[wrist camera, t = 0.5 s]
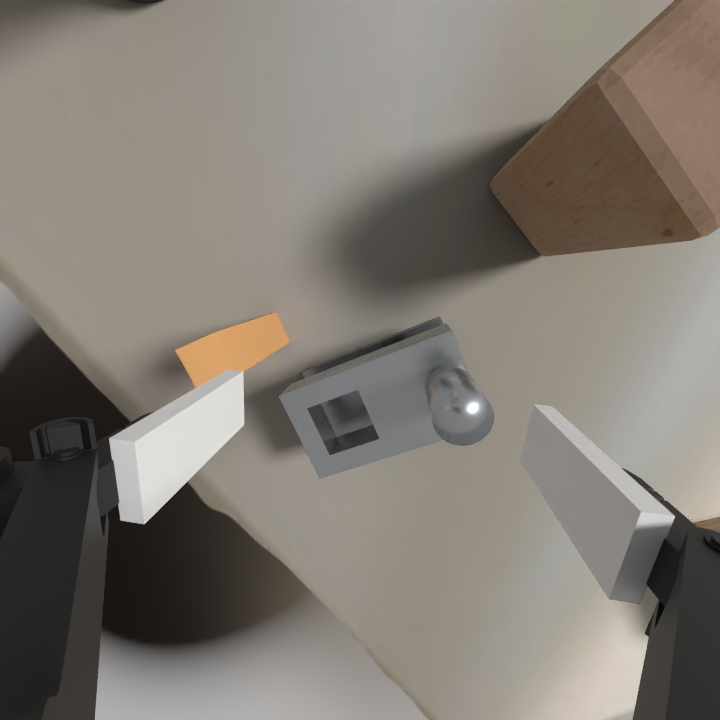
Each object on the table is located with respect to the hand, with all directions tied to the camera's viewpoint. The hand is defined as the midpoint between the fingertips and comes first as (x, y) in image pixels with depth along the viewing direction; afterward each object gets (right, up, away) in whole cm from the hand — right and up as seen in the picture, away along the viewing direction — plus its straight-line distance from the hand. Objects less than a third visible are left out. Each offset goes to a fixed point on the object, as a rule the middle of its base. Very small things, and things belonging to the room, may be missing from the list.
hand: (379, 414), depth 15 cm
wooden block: (+19, +20, +19) cm, 33 cm away
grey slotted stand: (+2, 0, +26) cm, 26 cm away
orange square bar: (-12, +6, +26) cm, 29 cm away
